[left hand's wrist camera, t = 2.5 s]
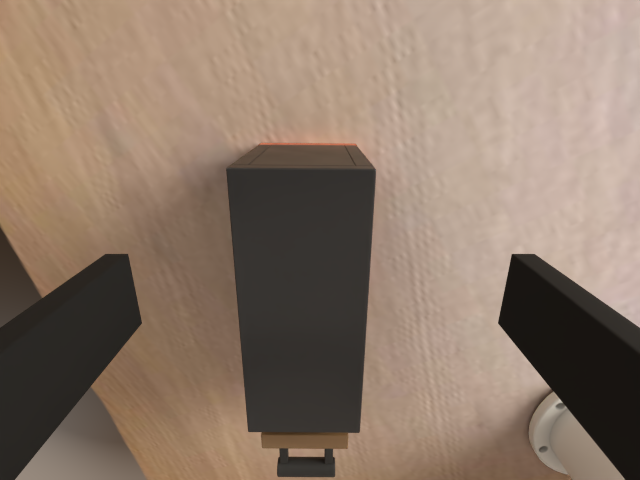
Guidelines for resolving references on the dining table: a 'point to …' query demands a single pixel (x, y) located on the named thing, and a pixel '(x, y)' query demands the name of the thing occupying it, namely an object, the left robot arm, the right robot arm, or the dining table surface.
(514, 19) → the dining table surface
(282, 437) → the drawer
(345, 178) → the cabinet
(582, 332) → the left robot arm
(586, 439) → the right robot arm
